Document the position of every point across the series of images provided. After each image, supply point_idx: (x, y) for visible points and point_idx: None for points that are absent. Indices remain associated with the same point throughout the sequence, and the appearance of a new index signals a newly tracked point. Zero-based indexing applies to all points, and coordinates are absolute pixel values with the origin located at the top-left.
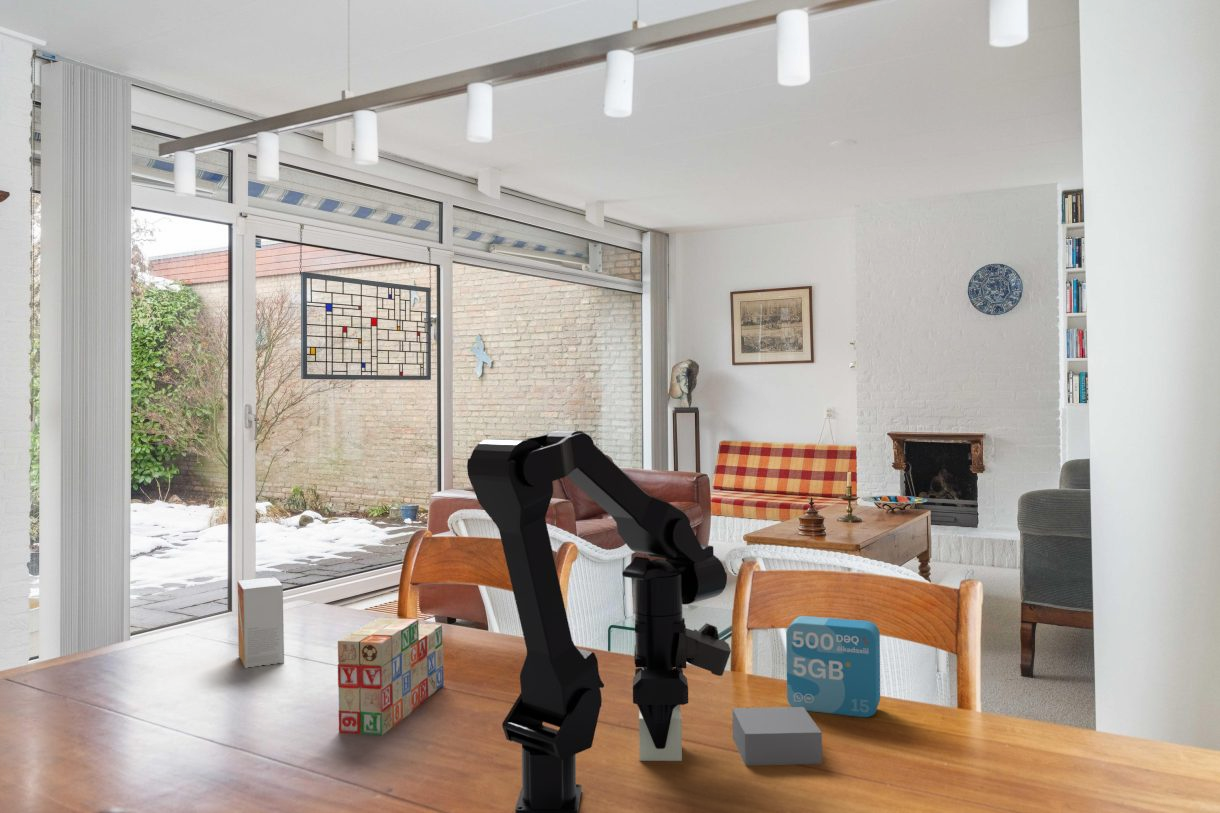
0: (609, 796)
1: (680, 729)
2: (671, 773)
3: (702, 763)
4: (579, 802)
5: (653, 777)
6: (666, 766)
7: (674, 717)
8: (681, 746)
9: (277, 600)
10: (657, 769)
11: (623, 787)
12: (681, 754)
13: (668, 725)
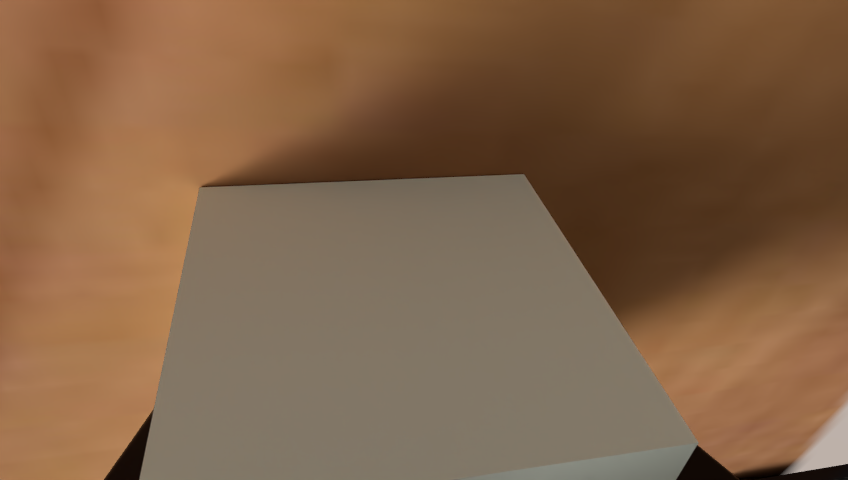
0: (801, 410)
1: (625, 349)
2: (693, 226)
3: (601, 24)
4: (823, 470)
5: (706, 301)
6: (588, 255)
7: None
8: (560, 237)
9: None
10: (616, 293)
11: (751, 386)
12: (537, 200)
13: (730, 478)
